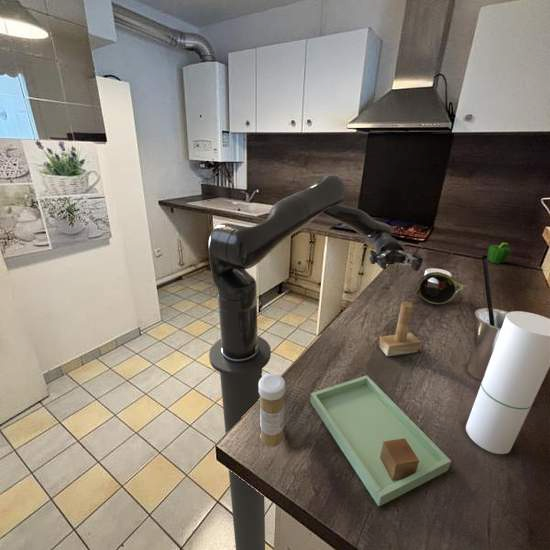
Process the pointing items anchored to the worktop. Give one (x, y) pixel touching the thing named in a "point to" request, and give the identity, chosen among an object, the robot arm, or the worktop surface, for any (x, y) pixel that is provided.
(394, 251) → the robot arm
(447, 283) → the pot
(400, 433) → the tray
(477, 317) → the glass
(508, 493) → the worktop surface
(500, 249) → the bell pepper
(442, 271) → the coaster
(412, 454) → the cork cube
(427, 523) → the worktop surface
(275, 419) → the sprinkles bottle
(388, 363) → the worktop surface
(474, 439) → the cylindrical container
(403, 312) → the wooden stamp
